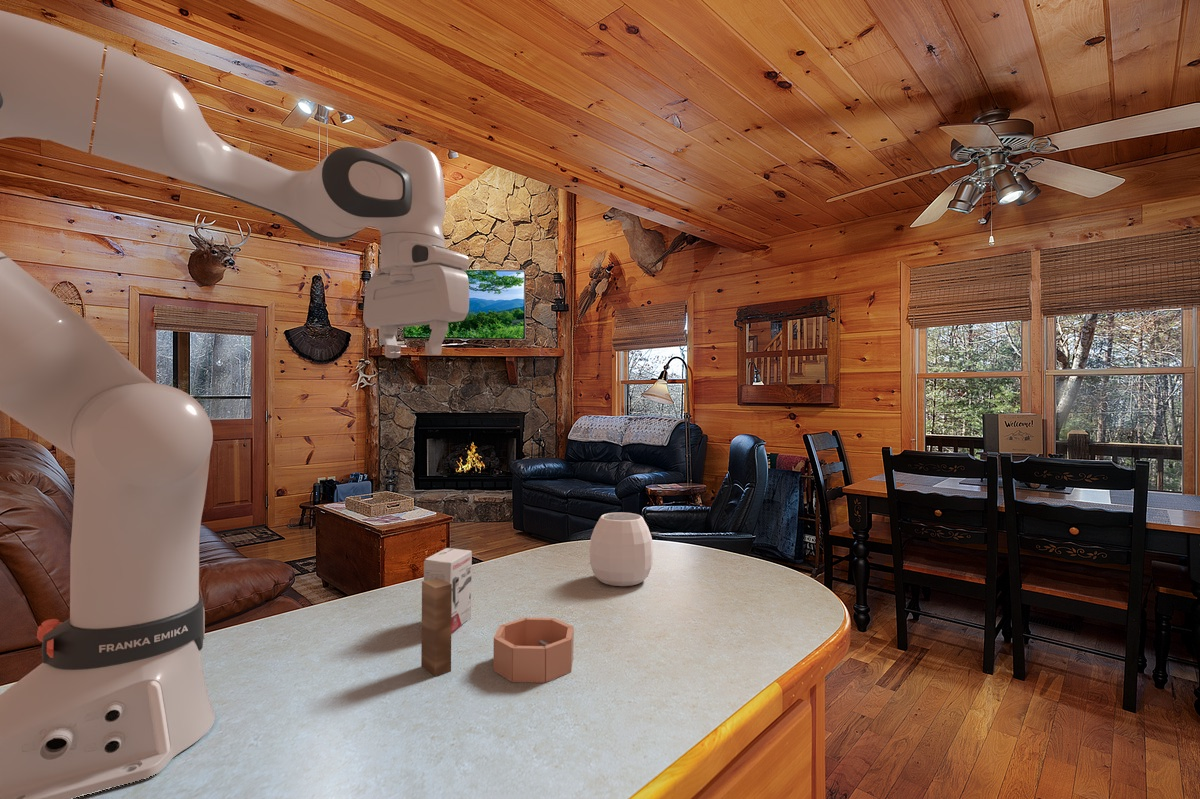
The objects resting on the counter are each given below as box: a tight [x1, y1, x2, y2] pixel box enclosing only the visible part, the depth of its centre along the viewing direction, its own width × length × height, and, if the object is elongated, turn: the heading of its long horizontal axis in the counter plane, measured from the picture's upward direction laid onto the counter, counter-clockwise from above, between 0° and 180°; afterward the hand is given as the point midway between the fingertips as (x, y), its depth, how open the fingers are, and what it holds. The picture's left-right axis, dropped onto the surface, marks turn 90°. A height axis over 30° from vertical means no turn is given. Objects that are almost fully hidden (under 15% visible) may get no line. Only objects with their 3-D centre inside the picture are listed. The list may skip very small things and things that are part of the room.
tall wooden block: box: [420, 578, 452, 678], centre depth 80 cm, size 2×4×12 cm, turn 43°
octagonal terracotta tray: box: [493, 617, 575, 684], centre depth 82 cm, size 11×11×4 cm
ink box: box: [423, 547, 473, 635], centre depth 96 cm, size 9×5×12 cm, turn 168°
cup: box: [589, 511, 654, 587], centre depth 120 cm, size 13×13×14 cm
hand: (412, 356), depth 84 cm, fingers open, 8 cm apart
